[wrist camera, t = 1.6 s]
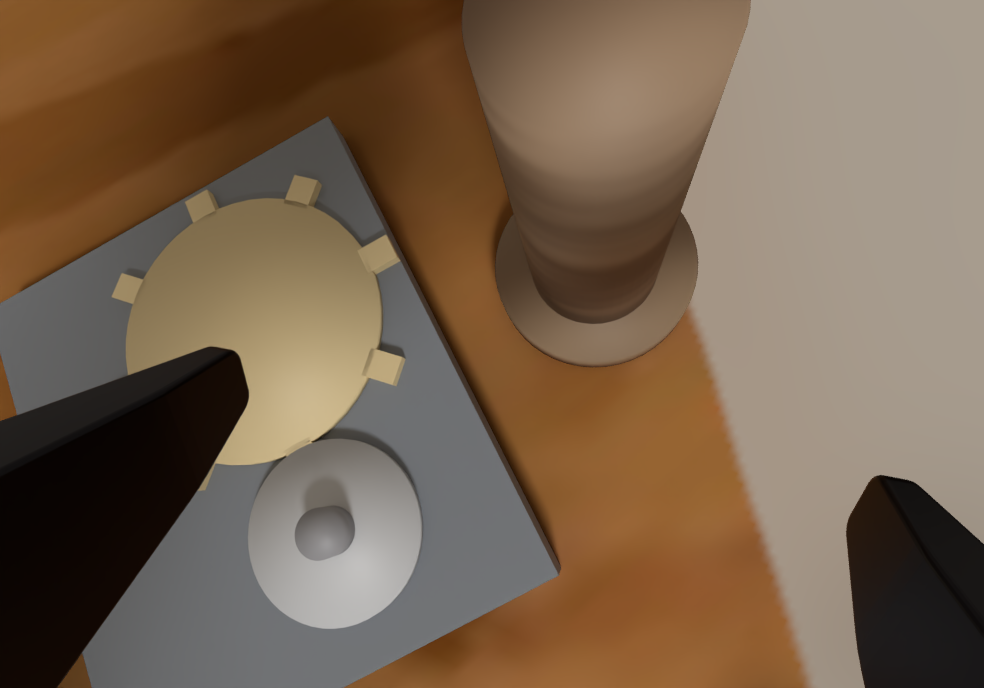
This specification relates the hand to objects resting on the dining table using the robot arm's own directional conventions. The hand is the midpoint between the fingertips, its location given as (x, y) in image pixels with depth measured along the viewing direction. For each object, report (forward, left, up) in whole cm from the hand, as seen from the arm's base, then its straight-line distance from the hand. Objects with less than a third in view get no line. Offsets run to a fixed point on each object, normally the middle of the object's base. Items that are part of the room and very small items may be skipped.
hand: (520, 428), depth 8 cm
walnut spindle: (+5, -4, -13) cm, 14 cm away
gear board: (+6, +10, -13) cm, 17 cm away
